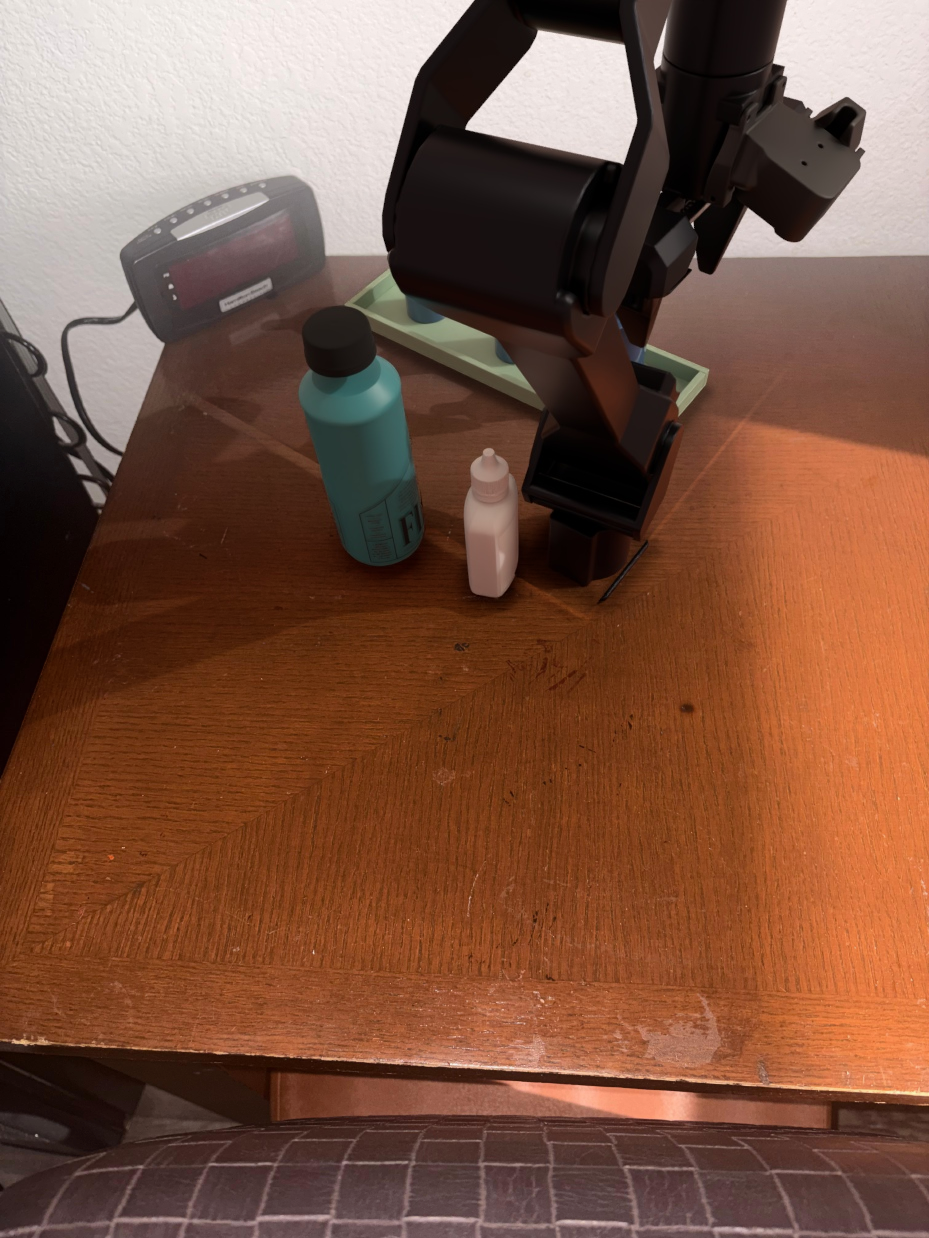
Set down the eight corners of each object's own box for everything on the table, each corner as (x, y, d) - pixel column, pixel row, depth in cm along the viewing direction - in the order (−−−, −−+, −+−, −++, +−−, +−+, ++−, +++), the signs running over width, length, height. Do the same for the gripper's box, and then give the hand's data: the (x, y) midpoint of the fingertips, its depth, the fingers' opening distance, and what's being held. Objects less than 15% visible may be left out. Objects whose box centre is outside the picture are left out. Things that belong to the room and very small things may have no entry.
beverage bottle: (417, 586, 62) (378, 368, 45) (330, 574, 63) (260, 356, 46) (437, 518, 65) (407, 291, 48) (354, 508, 66) (297, 283, 49)
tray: (641, 465, 67) (645, 444, 65) (347, 325, 78) (343, 304, 76) (704, 391, 71) (709, 369, 69) (416, 269, 82) (414, 247, 81)
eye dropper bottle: (541, 560, 62) (545, 443, 52) (490, 608, 60) (484, 495, 50) (497, 530, 64) (492, 411, 54) (446, 576, 62) (431, 461, 52)
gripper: (782, 181, 37) (714, 438, 50) (940, 15, 45) (845, 275, 58) (569, 115, 41) (557, 368, 54) (747, -27, 49) (699, 225, 62)
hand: (673, 307), depth 57 cm, fingers open, 9 cm apart
